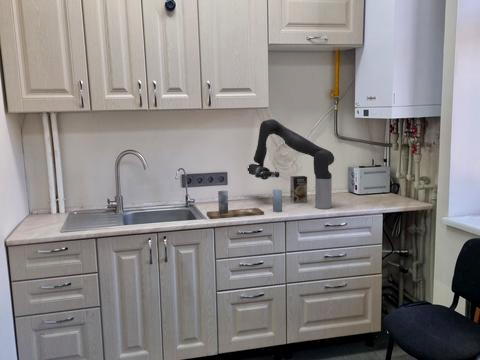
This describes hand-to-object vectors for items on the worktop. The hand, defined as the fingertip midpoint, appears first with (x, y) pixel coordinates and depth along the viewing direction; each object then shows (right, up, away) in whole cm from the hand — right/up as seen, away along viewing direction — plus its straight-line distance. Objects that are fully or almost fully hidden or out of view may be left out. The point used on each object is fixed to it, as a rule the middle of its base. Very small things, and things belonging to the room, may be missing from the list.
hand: (270, 176), depth 256 cm
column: (+3, -20, -8) cm, 22 cm away
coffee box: (+19, -16, +17) cm, 30 cm away
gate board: (-21, -21, -14) cm, 33 cm away
